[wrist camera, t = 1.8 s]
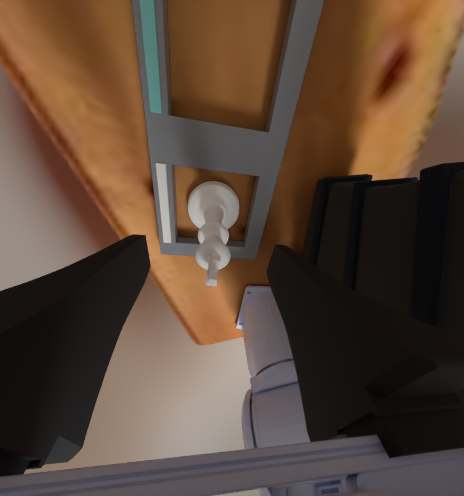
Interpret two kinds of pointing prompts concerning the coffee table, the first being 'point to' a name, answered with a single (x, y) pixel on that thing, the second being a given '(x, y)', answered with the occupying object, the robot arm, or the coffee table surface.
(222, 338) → the coffee table surface
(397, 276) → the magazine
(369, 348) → the robot arm
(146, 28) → the port panel
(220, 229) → the chess piece
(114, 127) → the coffee table surface
